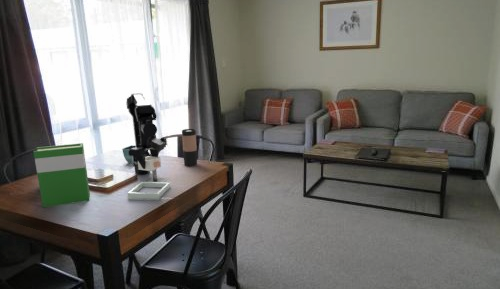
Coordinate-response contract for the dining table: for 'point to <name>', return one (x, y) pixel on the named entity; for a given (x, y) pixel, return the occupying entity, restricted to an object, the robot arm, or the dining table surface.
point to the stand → (155, 179)
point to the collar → (150, 163)
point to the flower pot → (127, 153)
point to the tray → (148, 196)
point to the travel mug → (189, 147)
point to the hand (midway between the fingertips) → (149, 166)
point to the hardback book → (62, 174)
